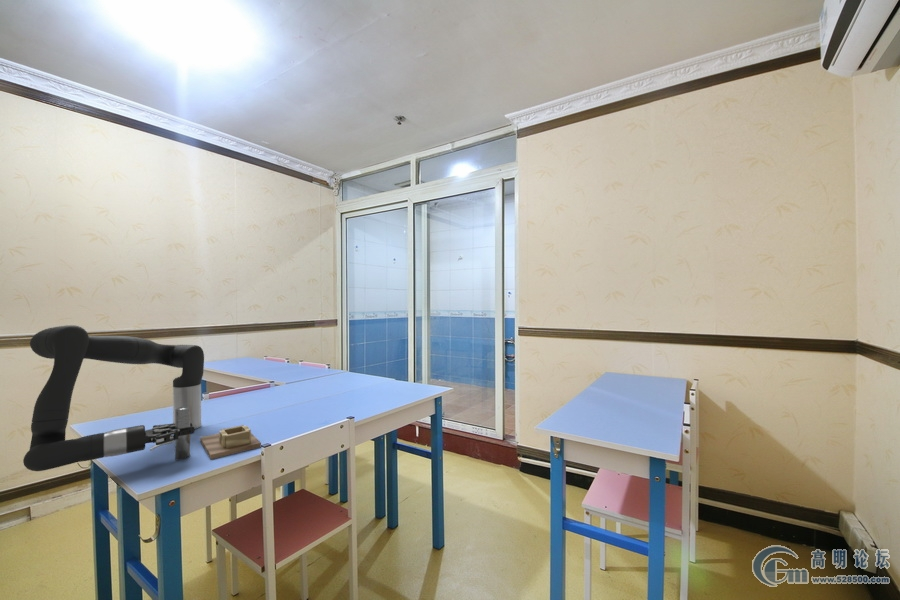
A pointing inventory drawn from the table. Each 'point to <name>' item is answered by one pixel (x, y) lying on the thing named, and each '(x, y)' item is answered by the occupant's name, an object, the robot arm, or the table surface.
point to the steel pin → (183, 441)
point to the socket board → (230, 441)
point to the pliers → (161, 444)
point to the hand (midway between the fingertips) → (192, 427)
